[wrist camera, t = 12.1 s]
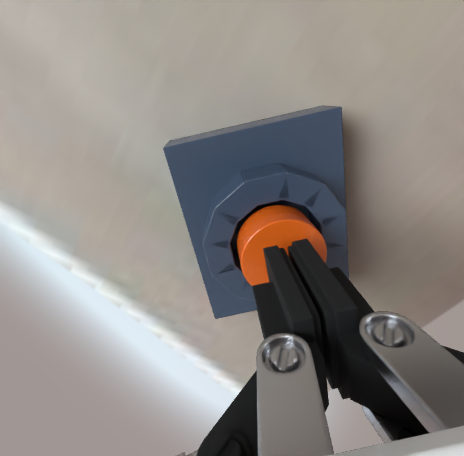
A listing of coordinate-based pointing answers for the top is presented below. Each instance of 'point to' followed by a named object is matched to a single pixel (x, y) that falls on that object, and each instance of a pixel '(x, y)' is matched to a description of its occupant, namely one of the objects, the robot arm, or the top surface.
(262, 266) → the button
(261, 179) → the button box
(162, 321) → the top surface
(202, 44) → the top surface
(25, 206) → the top surface
